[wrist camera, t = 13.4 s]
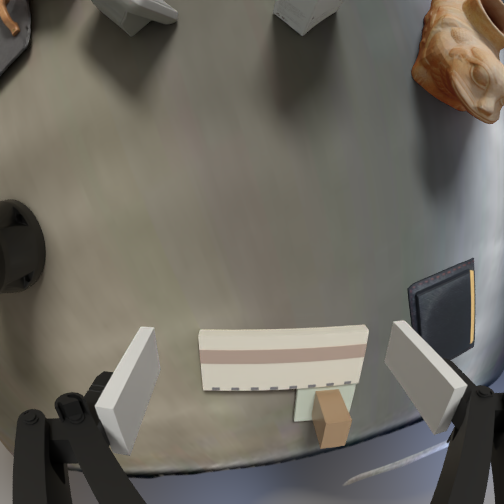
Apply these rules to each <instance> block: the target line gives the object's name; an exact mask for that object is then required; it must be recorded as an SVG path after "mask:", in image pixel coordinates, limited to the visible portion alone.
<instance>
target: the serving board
mask: <svg viewBox="0 0 504 504" xmlns="http://www.w3.org/2000/svg"><path fill="white" fill-rule="evenodd" d="M30 26H31V13H30V7H29V2H28V0H0V76H1V75H2V74H3V72H4V71H5V70H6V69H7V68H8V67H9V66H10V65H11V63H12V62H13V61H14V60H15V59H16V58H17V57H18V56H19V55H20V54H21V53H22V52H23V51H24V50H26V49H28V48H29V47H30V46H31V43H32V41H31V39H30V32H31V27H30Z"/></svg>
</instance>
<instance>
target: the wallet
mask: <svg viewBox="0 0 504 504" xmlns="http://www.w3.org/2000/svg"><path fill="white" fill-rule="evenodd" d="M408 299H409V308H410V316H411V324H412V329H414V330H415V331H416V332H417V333H418V334H419V335H420V336H421V337H422V338H423V339H424V340H425V341H426V342H427V343H428V345H429V346H430V347H431V348H432V349H433V350H434V351H435V352H436V353H437V354H438V355H439V356H440V357H441V358H446V359H448V360H452V359H453V358H455V357H457V356H459V355H461V354H462V353H464V352H466V351H467V350H469V349H471V348H472V347H474V340H475V274H474V258H472V259H470V260H468V261H465V262H462V263H459V264H457V265H455V266H452V267H450V268H448V269H446V270H443V271H441V272H439V273H436V274H434V275H432V276H429V277H427V278H424V279H422V280H420V281H418V282H415V283H413V284H412V285H411V286H410V287H409V288H408Z"/></svg>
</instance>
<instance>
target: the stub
mask: <svg viewBox="0 0 504 504" xmlns="http://www.w3.org/2000/svg"><path fill="white" fill-rule="evenodd" d="M355 386H356V383H354V384H345V385H336V386H326V387H314V388H300V389H297V390H296V399H295V408H294V417H293V419H294V422H295V421H308V420H313V423H314V427H315V431H316V434H317V438H318V441H319V445H320V449H322V448H330V447H337V446H344V445H345V443H346V440H347V436H348V433H349V429H350V426H351V422H352V419H351V417H350V414H349V411H350V407H351V403H352V399H353V395H354V391H355Z"/></svg>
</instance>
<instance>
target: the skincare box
mask: <svg viewBox="0 0 504 504" xmlns="http://www.w3.org/2000/svg"><path fill="white" fill-rule="evenodd" d="M342 2H343V0H275V5H274V10H273V13H274V14H275V15H276V16H278V17H279V18H281V19H282V20H283V21H284V22H285V23H287V24H288V25H289V26H290V27H291V28H293V29H294V30H295V31H296V32H298V33H299V34H300V35H301V36H303V35H305V34H306V33H307V32H308V31H309V30H310V29H311V28H313V27H314V26H315V25H316V24H318V23H319V22H321V21H322V20H324V19H325V18H327V17H328V16H330V15H331V14H333V13H335V12H336V11H337V10H338V9H339V7H340V5H341V4H342Z"/></svg>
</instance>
